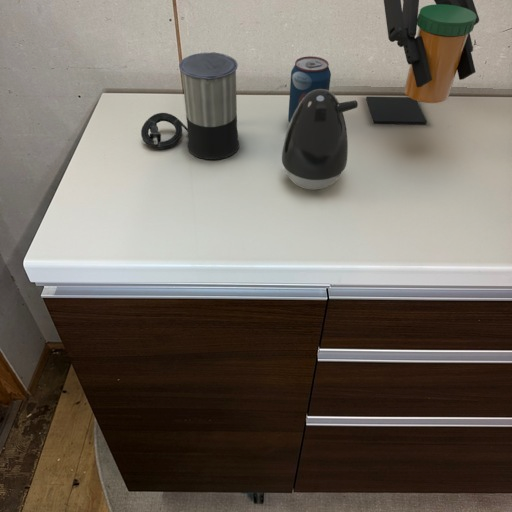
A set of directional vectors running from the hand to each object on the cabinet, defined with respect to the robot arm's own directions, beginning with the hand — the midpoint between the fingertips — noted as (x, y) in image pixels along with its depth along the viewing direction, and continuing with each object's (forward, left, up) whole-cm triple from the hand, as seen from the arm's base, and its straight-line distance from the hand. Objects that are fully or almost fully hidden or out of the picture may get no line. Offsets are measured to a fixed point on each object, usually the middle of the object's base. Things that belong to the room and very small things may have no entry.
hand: (446, 79), depth 71 cm
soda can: (+14, -17, -15) cm, 27 cm away
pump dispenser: (+20, -1, -15) cm, 25 cm away
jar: (0, -3, -4) cm, 5 cm away
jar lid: (0, -3, +8) cm, 9 cm away
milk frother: (+36, -18, -15) cm, 43 cm away
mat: (-5, -17, -14) cm, 23 cm away
